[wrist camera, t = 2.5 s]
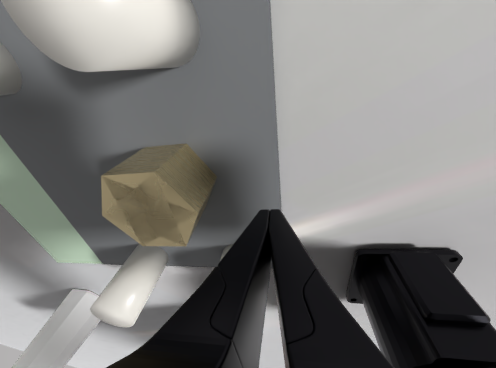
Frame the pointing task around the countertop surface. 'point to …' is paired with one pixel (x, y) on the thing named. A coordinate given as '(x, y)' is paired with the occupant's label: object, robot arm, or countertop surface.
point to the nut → (158, 194)
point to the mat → (142, 136)
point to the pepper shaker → (62, 333)
